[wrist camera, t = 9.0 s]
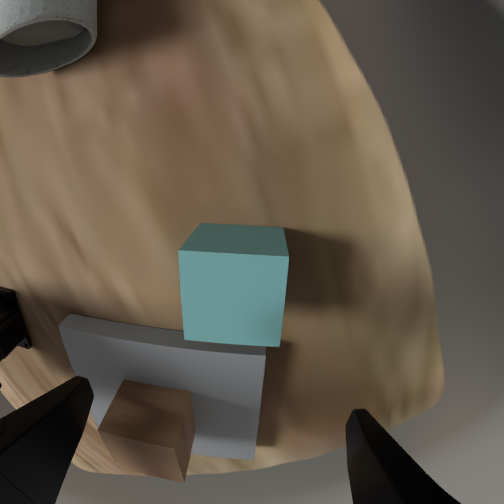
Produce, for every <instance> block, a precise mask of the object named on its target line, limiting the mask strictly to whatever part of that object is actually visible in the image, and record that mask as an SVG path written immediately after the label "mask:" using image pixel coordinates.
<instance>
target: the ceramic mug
mask: <svg viewBox="0 0 504 504" xmlns="http://www.w3.org/2000/svg"><path fill="white" fill-rule="evenodd" d="M96 38H97V0H0V77H26V76H32V75H38V74H42V73H46V72H50V71H53V70H56V69H58V68H61V67H63V66H66V65H68V64H70V63H72V62H74V61H76V60H78V59H79V58H81V57H82V56H84V55H85V54H86V53H88V52H89V51H90V50H91V48H92V47H93V46H94V44H95V42H96Z"/></svg>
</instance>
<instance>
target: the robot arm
mask: <svg viewBox="0 0 504 504" xmlns="http://www.w3.org/2000/svg"><path fill="white" fill-rule="evenodd" d="M17 346H20V347H23V348H26V349H30V348H31V347H32V344H31V342H30V339H29V336H28V333H27V331H26V328H25V325H24V322H23V319H22V316H21V313H20V309H19V306H18V303H17V299H16V296H15V294H14V292H13V291H11V290H8V289H3V288H0V361H1V360H2V359H5V358H6V357H7V356H8V355H9V354H10V353H11V352H12V351H13V350H14V349H15V348H16V347H17ZM1 386H2V385H1V383H0V388H1ZM93 400H94V393H93V390H92V387H91V385H90V382H89V380H88V379H87V378H86V377H82V376H75V377H73V378H72V379H70V380H68V381H66V382H65V383H63V384H61V385H59V386H58V387H56V388H54V389H52V390H51V391H49V392H47V393H45V394H44V395H42V396H40V397H38V398H36V399H35V400H33V401H31V402H29V403H28V404H26V405H24V406H22V407H20V408H19V409H17V410H15V411H13V412H12V413H10V414H8V415H7V416H4V417H3V418H1V419H0V504H55V502H56V500H57V496H58V494H59V491H60V489H61V486H62V483H63V481H64V478H65V476H66V473H67V470H68V468H69V465H70V463H71V460H72V458H73V456H74V453H75V451H76V448H77V446H78V444H79V441H80V439H81V437H82V434H83V431H84V428H85V425H86V422H87V419H88V415H89V412H90V409H91V406H92V403H93ZM346 447H347V465H348V466H347V467H348V474H349V480H350V486H351V493H352V499H353V504H461V503H460V502H458V501H457V500H456V499H454V498H453V497H452V496H451V495H449V494H448V493H447V492H446V491H444V490H443V489H442V488H441V487H440V486H439V485H438V484H437V483H436V482H435V481H434V480H433V479H432V478H431V477H430V476H429V475H428V474H426V472H425V471H424V470H423V469H422V468H421V467H420V466H419V465H418V464H417V463H416V462H415V461H414V460H413V459H412V458H411V457H410V456H409V454H407V452H406V451H405V450H404V449H403V448H402V447H401V446H400V445H399V444H398V443H397V442H396V441H395V440H394V439H393V438H392V437H391V436H390V435H389V433H388V432H387V431H386V430H385V429H384V428H383V427H382V426H381V425H380V424H379V423H378V422H377V421H376V420H375V418H374V417H373V416H372V415H371V414H370V413H369V412H368V411H367V410H366V409H354V410H353V411H352V413H351V415H350V417H349V419H348V421H347V424H346Z"/></svg>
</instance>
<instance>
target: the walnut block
mask: <svg viewBox="0 0 504 504" xmlns="http://www.w3.org/2000/svg"><path fill="white" fill-rule="evenodd" d="M98 432H99V434H100V436H101V438H102V439H103V441H104V443H105V445H106V447H107V449H108V450H109V452H110V454H111V456H112V457H113V459H114V461H115V462H116V464H117V466H118V467H120V468H124V469H127V470H131V471H134V472H138V473H142V474H146V475H150V476H155V477H160V478H164V479H169V480H174V481H179V482H184V481H185V477H186V473H187V468H188V463H189V459H190V454H191V450H192V446H193V441H194V437H195V432H196V430H195V423H194V415H193V408H192V399H191V391H188V390H181V389H174V388H168V387H162V386H156V385H151V384H145V383H140V382H135V381H130V380H125V379H123V381H122V383H121V385H120V387H119V389H118V391H117V393H116V394H115V396H114V398H113V400H112V402H111V404H110V406H109V408H108V410H107V412H106V414H105V416H104V418H103V420H102V422H101V424H100V426H99V428H98Z"/></svg>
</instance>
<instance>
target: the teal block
mask: <svg viewBox="0 0 504 504" xmlns="http://www.w3.org/2000/svg"><path fill="white" fill-rule="evenodd" d="M178 252H179V273H180V290H181V305H182V318H183V330H184V340H192V341H202V342H213V343H224V344H237V345H253V346H271V347H280V339H281V331H282V322H283V313H284V304H285V294H286V285H287V275H288V264H289V253H288V248H287V243H286V238H285V233H284V229H283V227H265V226H247V225H227V224H205V223H200V224H199V226H198V227H197V228H196V229H195V230H194V232H193V233H192V234H191V235H190V237H189V238H188V239H187V240H186V242H185V243H184V244H183V245H182V247H181V248H180V249H179V250H178Z"/></svg>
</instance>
